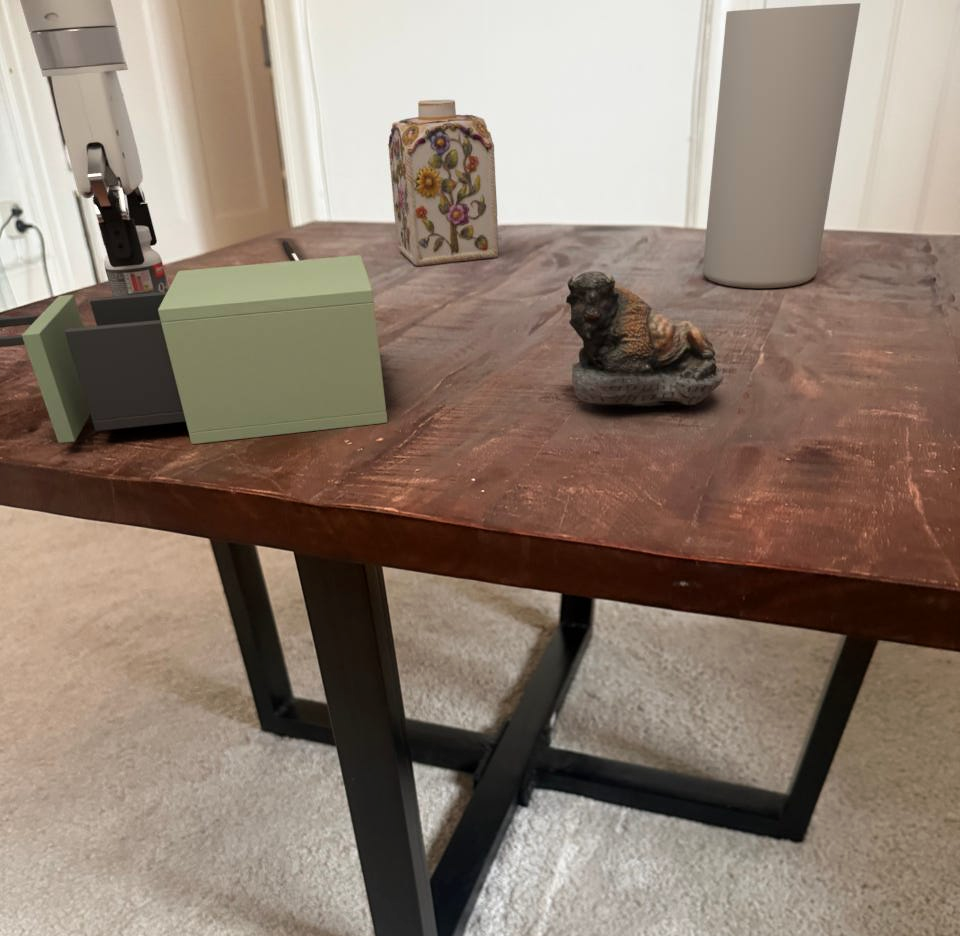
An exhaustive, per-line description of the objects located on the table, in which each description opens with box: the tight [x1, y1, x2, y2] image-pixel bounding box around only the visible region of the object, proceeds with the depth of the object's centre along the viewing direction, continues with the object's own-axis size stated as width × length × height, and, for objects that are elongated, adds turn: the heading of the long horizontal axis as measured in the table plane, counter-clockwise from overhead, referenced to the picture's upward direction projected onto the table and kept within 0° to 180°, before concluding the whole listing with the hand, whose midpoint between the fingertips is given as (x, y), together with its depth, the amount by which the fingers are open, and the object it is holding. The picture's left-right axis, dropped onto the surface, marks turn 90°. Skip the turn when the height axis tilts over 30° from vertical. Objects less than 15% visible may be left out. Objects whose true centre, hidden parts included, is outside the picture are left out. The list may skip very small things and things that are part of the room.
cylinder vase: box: [702, 2, 861, 289], centre depth 92 cm, size 12×12×25 cm
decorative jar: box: [387, 99, 499, 267], centre depth 113 cm, size 12×12×18 cm
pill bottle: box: [100, 226, 169, 297], centre depth 90 cm, size 6×6×10 cm
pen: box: [281, 240, 300, 261], centre depth 121 cm, size 1×19×1 cm, turn 17°
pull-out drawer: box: [0, 292, 186, 444], centre depth 67 cm, size 19×12×8 cm, turn 100°
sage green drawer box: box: [158, 254, 388, 445], centre depth 69 cm, size 15×13×10 cm
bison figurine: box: [565, 270, 724, 408], centre depth 64 cm, size 12×7×10 cm, turn 97°
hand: (135, 255), depth 89 cm, fingers open, 9 cm apart
